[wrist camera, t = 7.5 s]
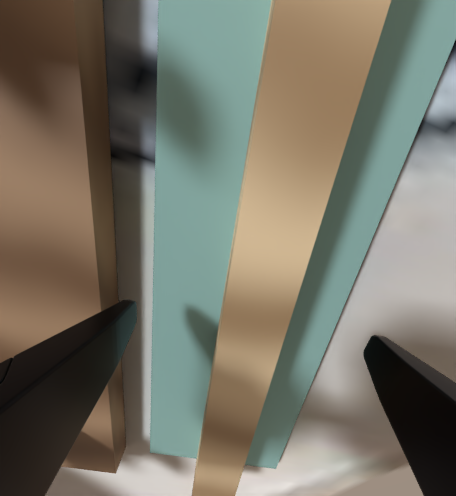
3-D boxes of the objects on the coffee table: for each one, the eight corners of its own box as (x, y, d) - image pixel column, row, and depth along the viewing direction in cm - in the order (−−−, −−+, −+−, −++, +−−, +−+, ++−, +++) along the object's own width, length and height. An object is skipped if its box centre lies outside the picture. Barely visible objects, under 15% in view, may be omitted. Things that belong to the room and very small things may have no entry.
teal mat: (274, 458, 16) (275, 468, 16) (153, 442, 16) (149, 452, 15) (515, -143, 6) (545, -176, 5) (170, -209, 6) (163, -250, 5)
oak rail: (230, 462, 16) (229, 513, 13) (196, 458, 16) (190, 508, 13) (410, -205, 5) (545, -489, 3) (308, -224, 5) (364, -531, 3)
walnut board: (125, 446, 16) (115, 473, 15) (17, 432, 16) (-3, 458, 15) (87, -298, 5) (30, -470, 4) (-270, -369, 5) (-468, -575, 4)
